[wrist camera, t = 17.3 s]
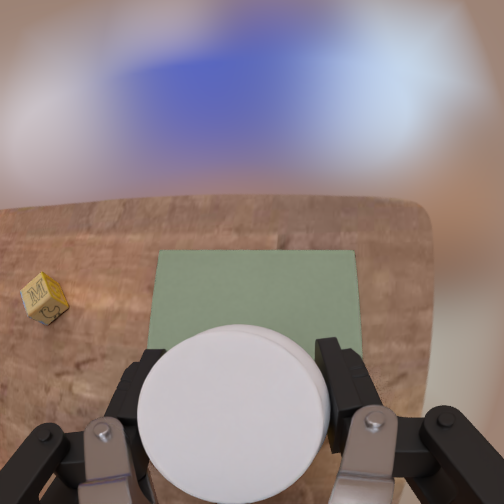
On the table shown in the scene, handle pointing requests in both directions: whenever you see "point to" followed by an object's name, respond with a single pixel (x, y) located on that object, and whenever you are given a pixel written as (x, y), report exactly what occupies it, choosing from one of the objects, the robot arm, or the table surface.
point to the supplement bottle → (234, 414)
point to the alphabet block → (43, 299)
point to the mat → (257, 295)
